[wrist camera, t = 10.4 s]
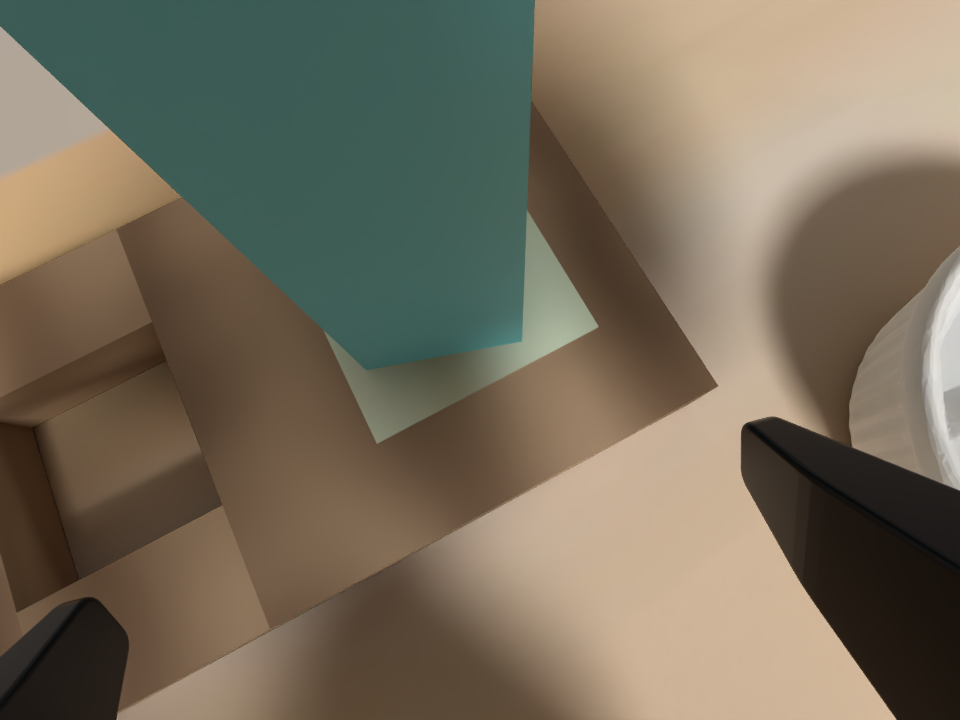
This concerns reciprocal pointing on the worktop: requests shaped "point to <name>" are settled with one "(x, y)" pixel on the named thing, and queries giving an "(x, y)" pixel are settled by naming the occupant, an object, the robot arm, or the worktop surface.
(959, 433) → the ramekin
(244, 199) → the teal block
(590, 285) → the puzzle board
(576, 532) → the worktop surface
